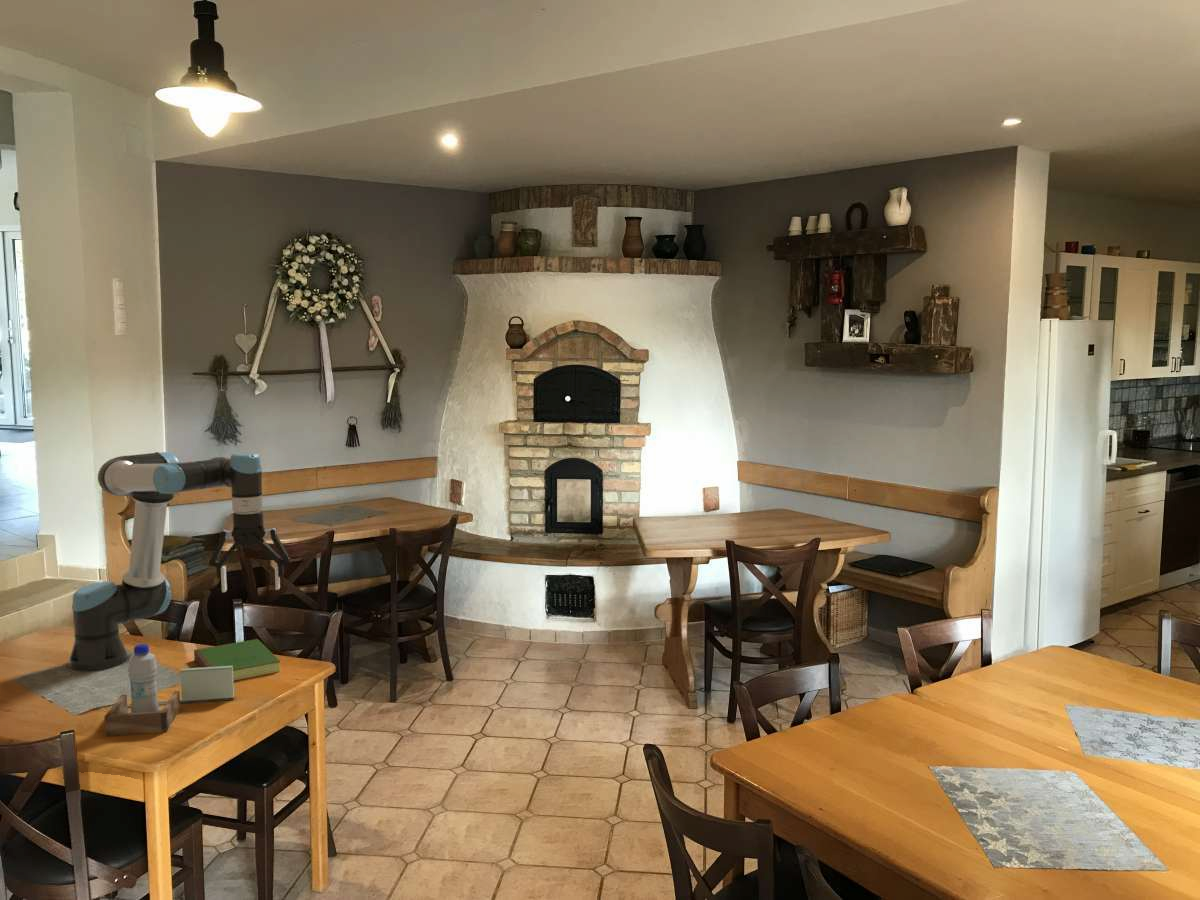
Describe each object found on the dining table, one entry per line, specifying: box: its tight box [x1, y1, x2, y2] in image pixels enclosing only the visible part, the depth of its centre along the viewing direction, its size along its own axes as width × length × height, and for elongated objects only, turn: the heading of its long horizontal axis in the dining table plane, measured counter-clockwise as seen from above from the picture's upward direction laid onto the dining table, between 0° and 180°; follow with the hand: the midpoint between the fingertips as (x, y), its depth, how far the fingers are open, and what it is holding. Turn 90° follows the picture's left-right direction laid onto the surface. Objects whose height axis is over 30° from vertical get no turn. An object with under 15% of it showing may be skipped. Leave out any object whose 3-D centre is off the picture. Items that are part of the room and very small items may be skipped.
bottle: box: [127, 643, 160, 713], centre depth 238 cm, size 7×7×20 cm
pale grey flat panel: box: [179, 666, 235, 701], centre depth 252 cm, size 1×13×9 cm, turn 102°
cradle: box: [103, 690, 236, 737], centre depth 242 cm, size 20×27×5 cm
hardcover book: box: [193, 638, 281, 682], centre depth 279 cm, size 25×19×4 cm
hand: (251, 589), depth 251 cm, fingers open, 13 cm apart
